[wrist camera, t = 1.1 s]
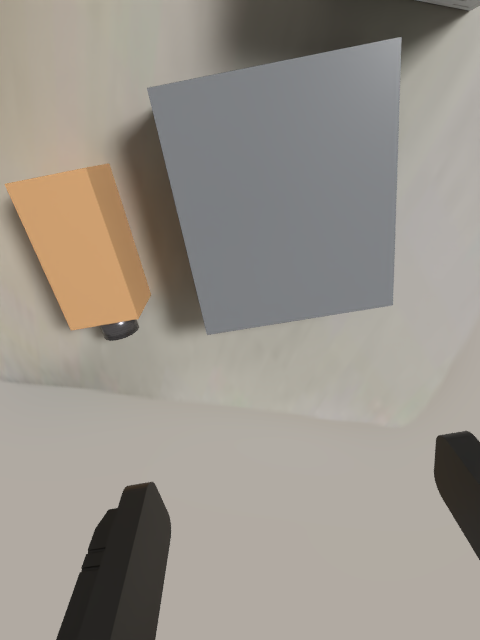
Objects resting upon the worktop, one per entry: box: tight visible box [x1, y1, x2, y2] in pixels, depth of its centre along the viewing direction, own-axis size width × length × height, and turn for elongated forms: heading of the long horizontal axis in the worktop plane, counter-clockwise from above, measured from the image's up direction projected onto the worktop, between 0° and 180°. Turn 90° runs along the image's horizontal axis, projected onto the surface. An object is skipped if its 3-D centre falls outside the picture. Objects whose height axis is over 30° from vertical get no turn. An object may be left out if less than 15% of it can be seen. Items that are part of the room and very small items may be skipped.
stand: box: [147, 37, 402, 335], centre depth 25 cm, size 16×14×6 cm
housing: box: [5, 164, 151, 340], centre depth 28 cm, size 13×6×5 cm, turn 10°
